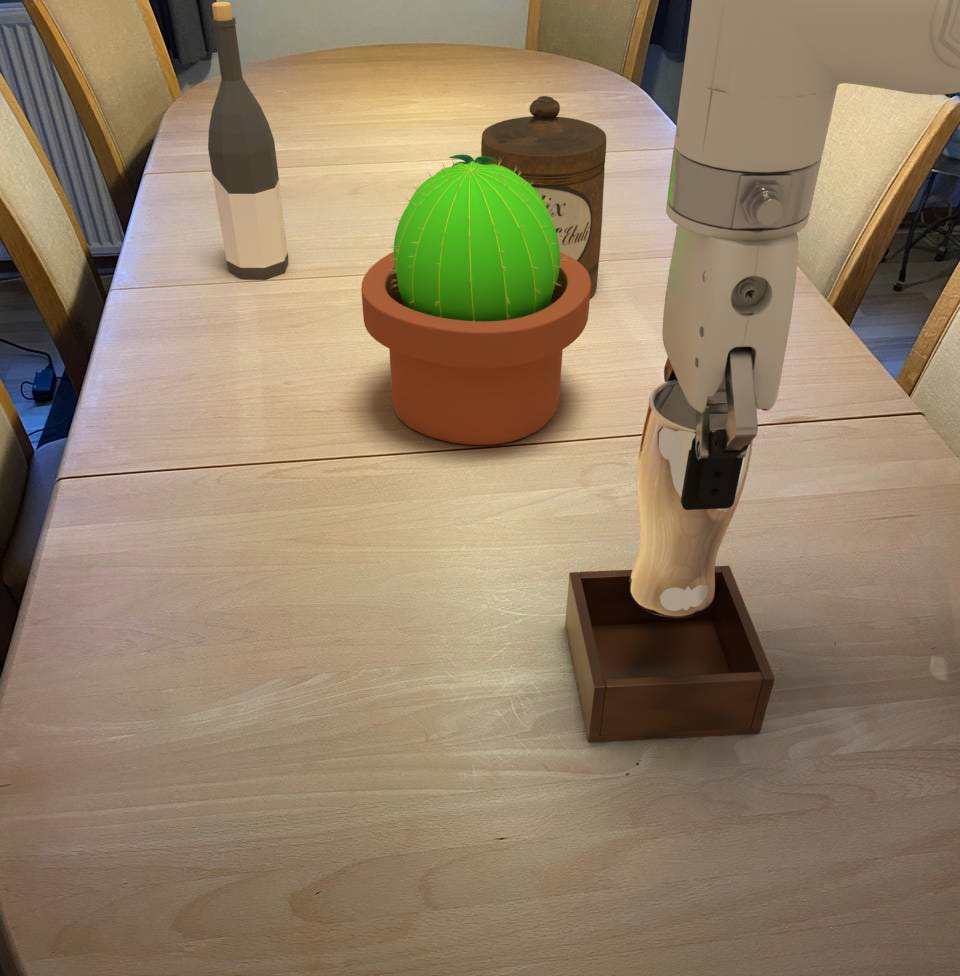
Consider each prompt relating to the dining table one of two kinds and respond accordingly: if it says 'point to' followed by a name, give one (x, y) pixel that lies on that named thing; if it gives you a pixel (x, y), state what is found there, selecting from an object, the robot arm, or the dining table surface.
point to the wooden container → (558, 173)
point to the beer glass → (675, 511)
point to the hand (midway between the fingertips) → (692, 469)
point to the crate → (664, 663)
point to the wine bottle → (244, 166)
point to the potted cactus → (476, 306)
